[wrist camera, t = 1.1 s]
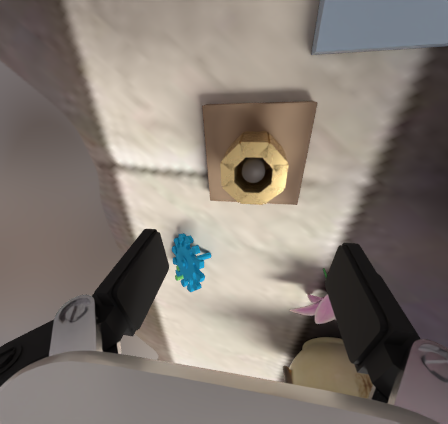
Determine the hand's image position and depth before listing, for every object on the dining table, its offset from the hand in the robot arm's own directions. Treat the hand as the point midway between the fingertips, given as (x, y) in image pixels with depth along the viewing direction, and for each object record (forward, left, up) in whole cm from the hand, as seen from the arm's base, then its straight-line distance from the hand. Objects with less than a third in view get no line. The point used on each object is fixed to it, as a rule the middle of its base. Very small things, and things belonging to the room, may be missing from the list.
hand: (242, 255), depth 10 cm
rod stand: (0, 0, -18) cm, 18 cm away
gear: (+11, +18, -18) cm, 28 cm away
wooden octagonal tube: (0, 0, -16) cm, 16 cm away
